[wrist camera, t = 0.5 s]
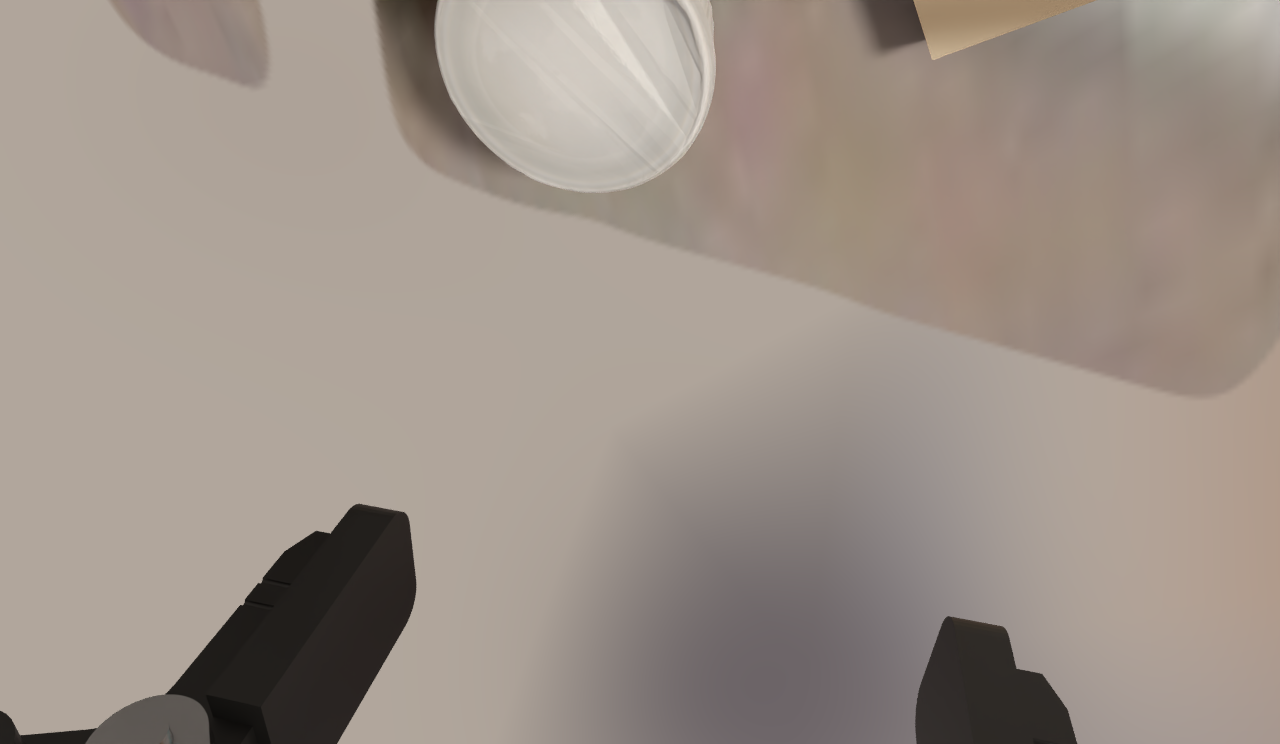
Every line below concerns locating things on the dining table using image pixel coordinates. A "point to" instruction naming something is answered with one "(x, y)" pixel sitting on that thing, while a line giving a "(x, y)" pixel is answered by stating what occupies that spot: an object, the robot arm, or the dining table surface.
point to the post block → (980, 20)
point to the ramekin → (580, 84)
